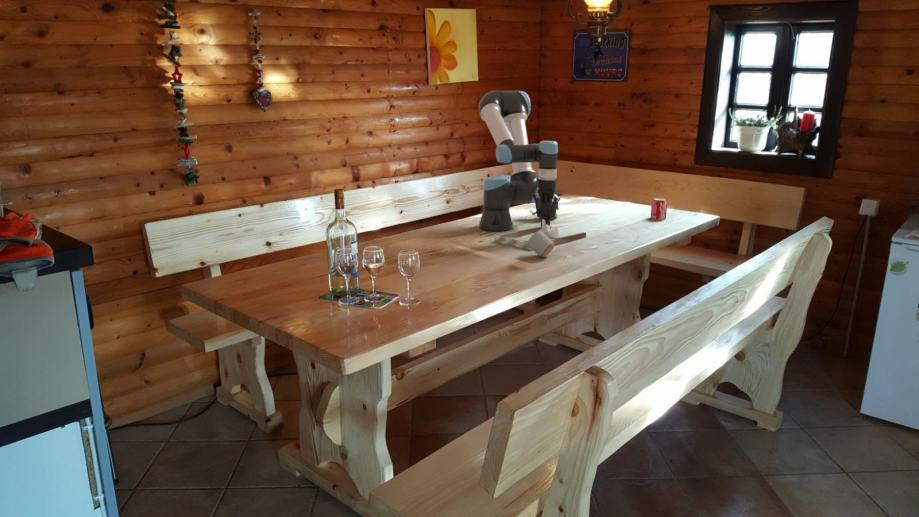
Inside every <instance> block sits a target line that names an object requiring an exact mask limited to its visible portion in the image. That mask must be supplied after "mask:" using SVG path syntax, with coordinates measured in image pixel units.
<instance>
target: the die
mask: <svg viewBox="0 0 919 517" xmlns="http://www.w3.org/2000/svg"><path fill="white" fill-rule="evenodd" d="M540 231H542V232H543V233H544V234H545V235H546V236H547V237H548V238H549V239H556V238H560V237H561V236H560V231H559V228H557V227H556V226H555V227H554V226H552V225H550V226H549V225H547V224H546V225H545V226H544V227H543V228H542V229H541V230H540Z"/></svg>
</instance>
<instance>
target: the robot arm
mask: <svg viewBox="0 0 919 517" xmlns="http://www.w3.org/2000/svg"><path fill="white" fill-rule="evenodd" d="M531 106H532V104H531V98H530V97H529V94H528V93H527V92H525V91H522V90H492V91H489V92H487V93H486V94H484V96H482V98H481V99H480V101H479V104H478V113H479V116H480V118H481V120H482V121H483V122H485V123H486V126H487V128H488V130H489V133H490V134H491V136H492V138H493V141H494V143H495V145H496V148H495V159H496V161H497V162H498V163H501V164H502V163H503V164H511V165H512V171H513V172H512V173H511V175H508V174H502V175H501V174H497V175H492V176H489V177H486V178H485V179H484V182H483V188H482V190H483V210H482V214H481V217H480V220H479V223H478V224H479V226H478V227H479V228H478V229H481V230H483V231H492V232H493V231H494V232H503V231H509V230H512V229H513V227H514V223H513V221H512V217H511V213H510V205H530V204H534V205H535V212H537V214H536V216H537V218H539V220H540V219H541V220H540V227H542V228H543V227H544V226H545V225H546V224H547V225H549V226H551V220H553V219H555V213H556V214H557V205H558V206H559V202H560V201H561V197H560V196H558V197H557V196H556V194H557V192H556V187H557V180H556V179H557V176H558V175H557V174H558V173H557V172H558V171H557V169H558V152H559V147H558V146H559V144H558V142H557V141H555V140H541V141H540V142H539V143H530V144H529V139H528V132H527V126H526V121H527V120H528V116H530V113H531ZM532 163H538V172H536V171H535V170H533V166H532ZM537 173H538V175H537Z"/></svg>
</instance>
